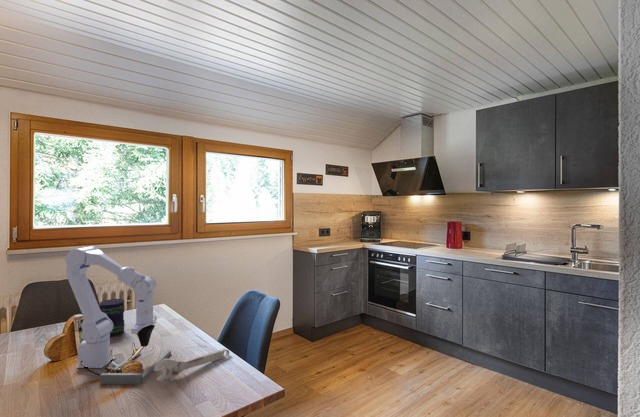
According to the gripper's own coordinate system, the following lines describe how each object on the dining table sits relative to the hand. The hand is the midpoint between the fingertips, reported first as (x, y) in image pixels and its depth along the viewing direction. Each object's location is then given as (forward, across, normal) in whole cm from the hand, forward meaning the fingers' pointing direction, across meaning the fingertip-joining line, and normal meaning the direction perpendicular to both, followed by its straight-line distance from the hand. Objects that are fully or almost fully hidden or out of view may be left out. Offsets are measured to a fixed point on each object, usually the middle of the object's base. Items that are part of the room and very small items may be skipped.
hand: (144, 345), depth 126 cm
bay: (+6, -5, 0) cm, 8 cm away
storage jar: (+7, +28, +30) cm, 41 cm away
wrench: (+6, -6, -21) cm, 23 cm away
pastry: (+7, -9, -1) cm, 11 cm away
